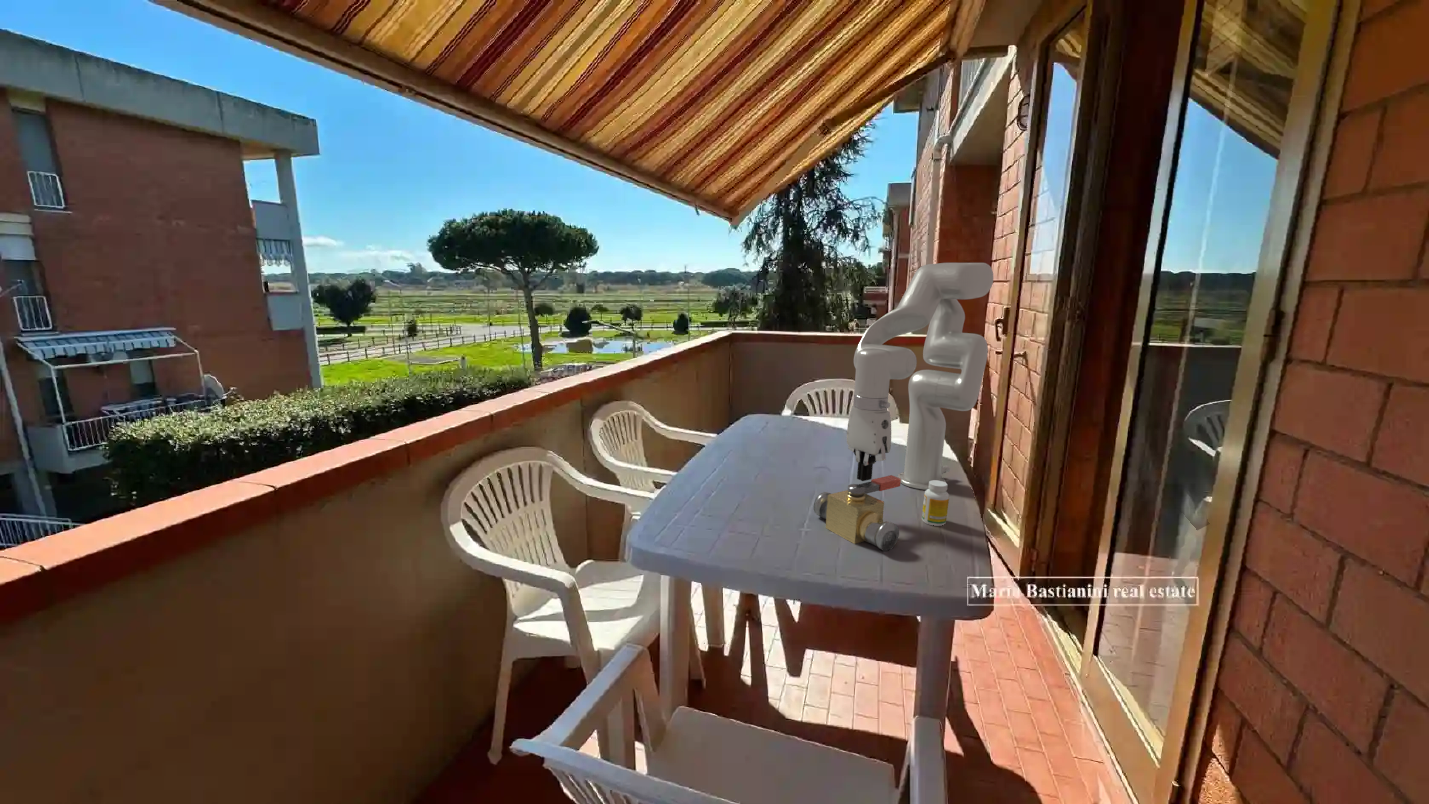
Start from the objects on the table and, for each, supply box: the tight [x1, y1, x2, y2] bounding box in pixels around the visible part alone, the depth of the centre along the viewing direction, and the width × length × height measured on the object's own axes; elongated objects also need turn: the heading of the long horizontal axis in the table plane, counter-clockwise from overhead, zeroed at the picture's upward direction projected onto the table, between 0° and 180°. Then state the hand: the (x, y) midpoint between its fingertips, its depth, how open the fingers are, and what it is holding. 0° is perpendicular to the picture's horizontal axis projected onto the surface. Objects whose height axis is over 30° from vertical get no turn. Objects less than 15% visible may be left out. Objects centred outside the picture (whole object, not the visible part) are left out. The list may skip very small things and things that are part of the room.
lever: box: [847, 474, 902, 497], centre depth 126 cm, size 14×4×2 cm, turn 121°
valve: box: [813, 489, 900, 552], centre depth 125 cm, size 20×8×9 cm, turn 31°
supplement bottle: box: [921, 480, 950, 527], centre depth 131 cm, size 5×5×10 cm
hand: (864, 479), depth 133 cm, fingers closed
